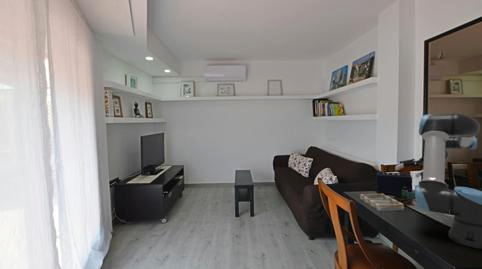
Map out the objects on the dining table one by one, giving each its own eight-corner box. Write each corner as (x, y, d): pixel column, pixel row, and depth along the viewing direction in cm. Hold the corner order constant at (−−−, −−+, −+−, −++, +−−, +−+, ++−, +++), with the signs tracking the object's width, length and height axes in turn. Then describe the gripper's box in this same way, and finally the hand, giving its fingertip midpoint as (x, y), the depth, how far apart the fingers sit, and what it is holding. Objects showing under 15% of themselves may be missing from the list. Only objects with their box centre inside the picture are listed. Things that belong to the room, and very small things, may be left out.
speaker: (409, 192, 185) (409, 172, 184) (412, 197, 174) (412, 176, 173) (376, 189, 195) (376, 170, 194) (376, 194, 184) (376, 174, 183)
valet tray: (403, 210, 151) (403, 204, 151) (378, 211, 151) (378, 205, 151) (382, 198, 173) (382, 193, 173) (360, 199, 173) (360, 194, 173)
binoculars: (391, 187, 166) (406, 185, 166) (392, 202, 167) (407, 200, 167) (399, 191, 157) (415, 189, 157) (400, 207, 158) (416, 205, 158)
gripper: (449, 172, 155) (425, 184, 149) (410, 160, 178) (388, 170, 172) (449, 161, 153) (425, 173, 147) (410, 150, 176) (387, 160, 170)
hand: (405, 172), depth 159 cm, fingers open, 13 cm apart
